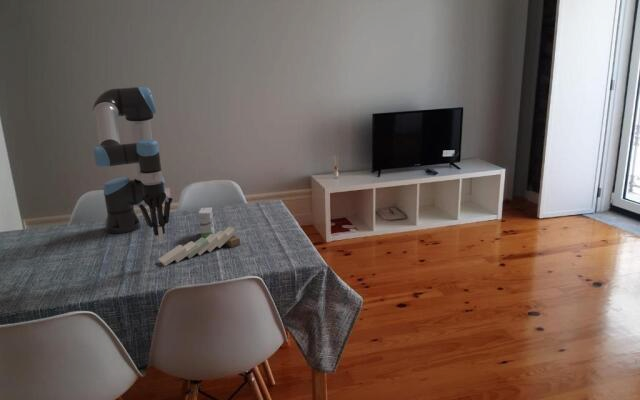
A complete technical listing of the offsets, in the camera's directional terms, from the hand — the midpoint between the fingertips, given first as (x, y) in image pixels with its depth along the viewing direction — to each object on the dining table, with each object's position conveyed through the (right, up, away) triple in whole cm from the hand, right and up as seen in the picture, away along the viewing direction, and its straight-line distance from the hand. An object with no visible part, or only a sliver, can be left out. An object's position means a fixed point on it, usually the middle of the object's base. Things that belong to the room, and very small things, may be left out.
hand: (160, 242), depth 191 cm
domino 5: (+14, -4, +13) cm, 20 cm away
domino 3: (+7, -6, +8) cm, 12 cm away
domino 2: (+4, -7, +5) cm, 9 cm away
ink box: (+11, 0, +31) cm, 33 cm away
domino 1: (0, -8, +2) cm, 8 cm away
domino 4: (+11, -5, +11) cm, 16 cm away
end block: (+23, -2, +20) cm, 31 cm away
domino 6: (+17, -3, +16) cm, 24 cm away
